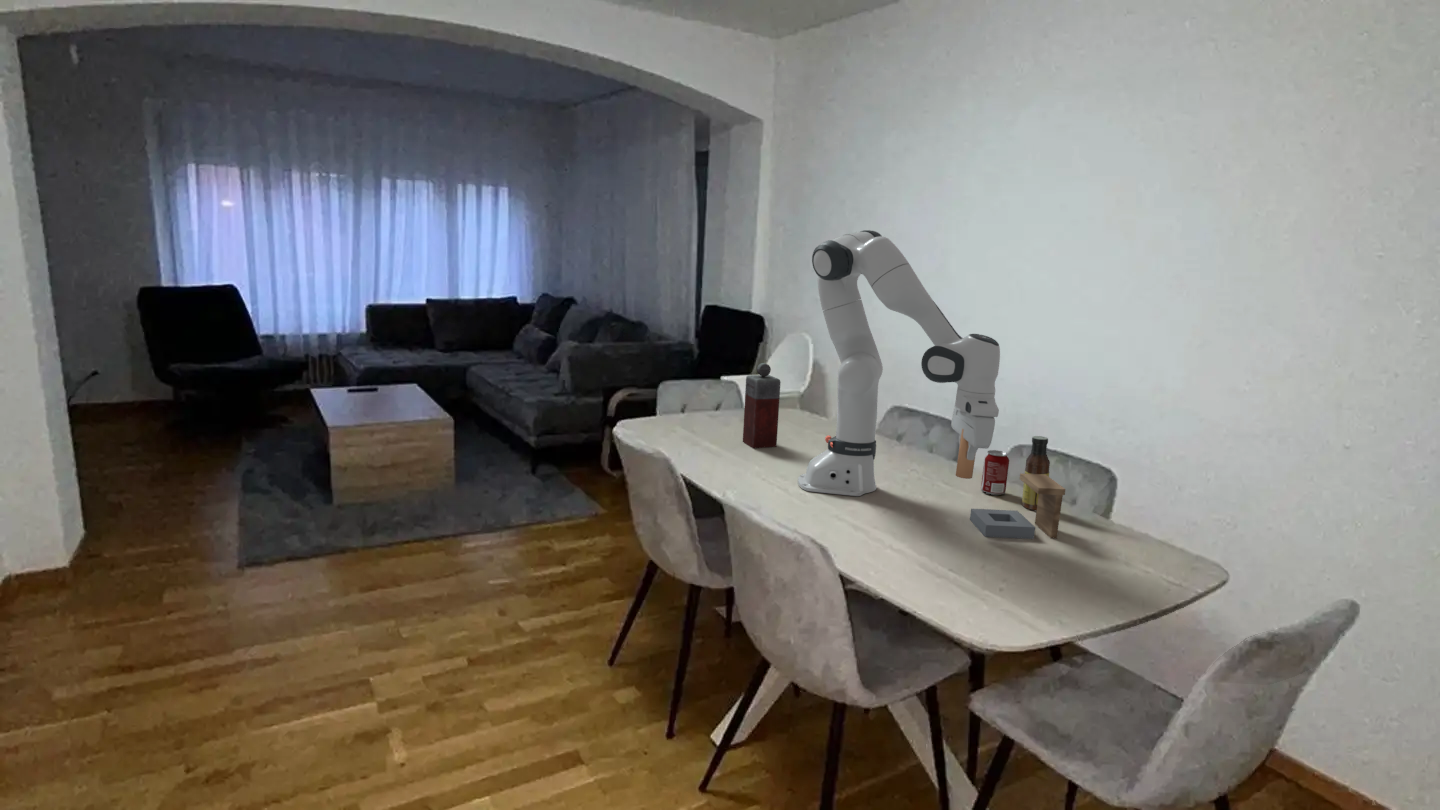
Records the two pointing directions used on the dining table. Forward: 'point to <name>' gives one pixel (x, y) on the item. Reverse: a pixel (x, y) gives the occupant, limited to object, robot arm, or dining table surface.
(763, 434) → the red grey knobbed box
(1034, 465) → the sauce bottle
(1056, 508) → the wooden l-shaped bracket
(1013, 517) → the socket
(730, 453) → the dining table surface
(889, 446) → the dining table surface
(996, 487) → the soda can
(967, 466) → the peg
